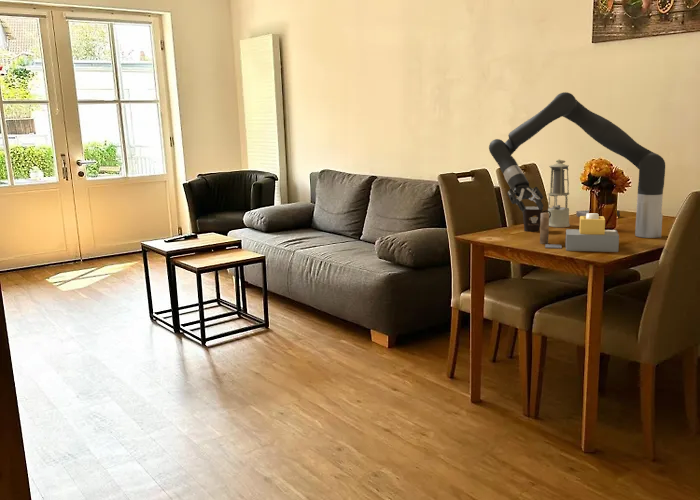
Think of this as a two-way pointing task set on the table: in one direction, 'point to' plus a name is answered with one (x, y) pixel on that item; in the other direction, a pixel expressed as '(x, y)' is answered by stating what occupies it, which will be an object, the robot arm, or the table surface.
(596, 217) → the breaker button
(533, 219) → the coffee mug
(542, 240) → the brown wooden cylinder
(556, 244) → the rest pad
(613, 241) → the grey base plinth
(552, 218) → the lamp
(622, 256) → the table surface
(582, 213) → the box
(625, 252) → the table surface
